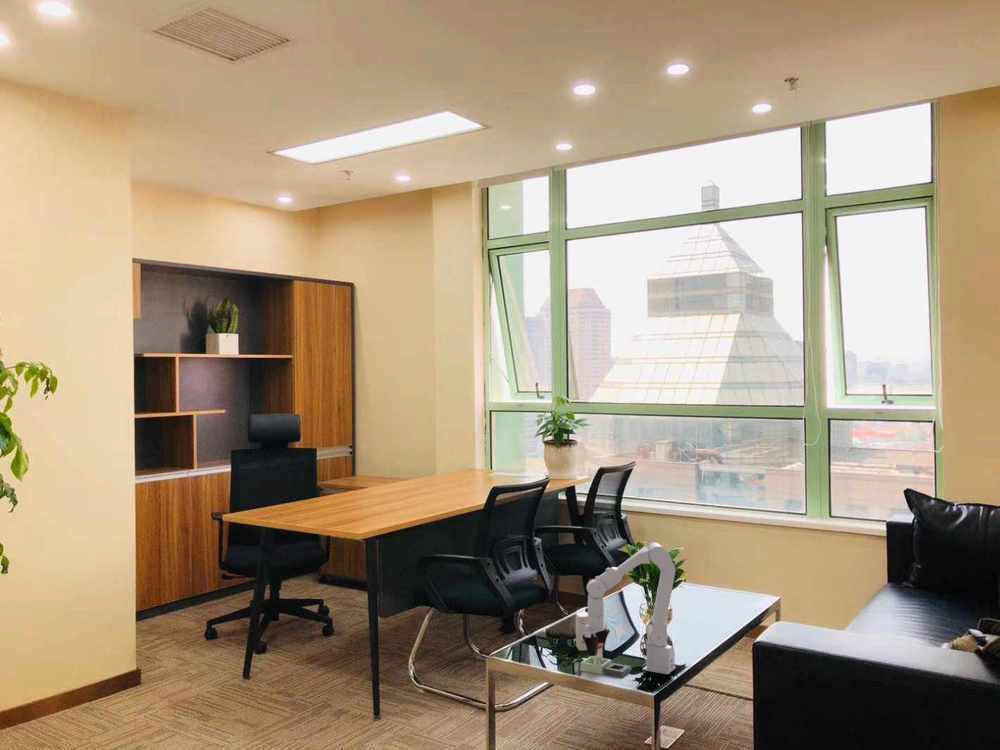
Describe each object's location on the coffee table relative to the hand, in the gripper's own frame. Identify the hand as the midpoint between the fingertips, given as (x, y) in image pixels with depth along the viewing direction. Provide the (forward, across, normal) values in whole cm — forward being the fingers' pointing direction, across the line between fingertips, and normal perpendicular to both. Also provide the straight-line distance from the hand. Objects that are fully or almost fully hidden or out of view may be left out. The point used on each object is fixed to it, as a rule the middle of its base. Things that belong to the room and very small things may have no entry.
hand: (596, 652), depth 291 cm
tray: (+6, 0, 0) cm, 6 cm away
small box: (+6, -21, -14) cm, 26 cm away
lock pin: (+5, 0, +1) cm, 5 cm away
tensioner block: (+6, 0, +8) cm, 10 cm away
